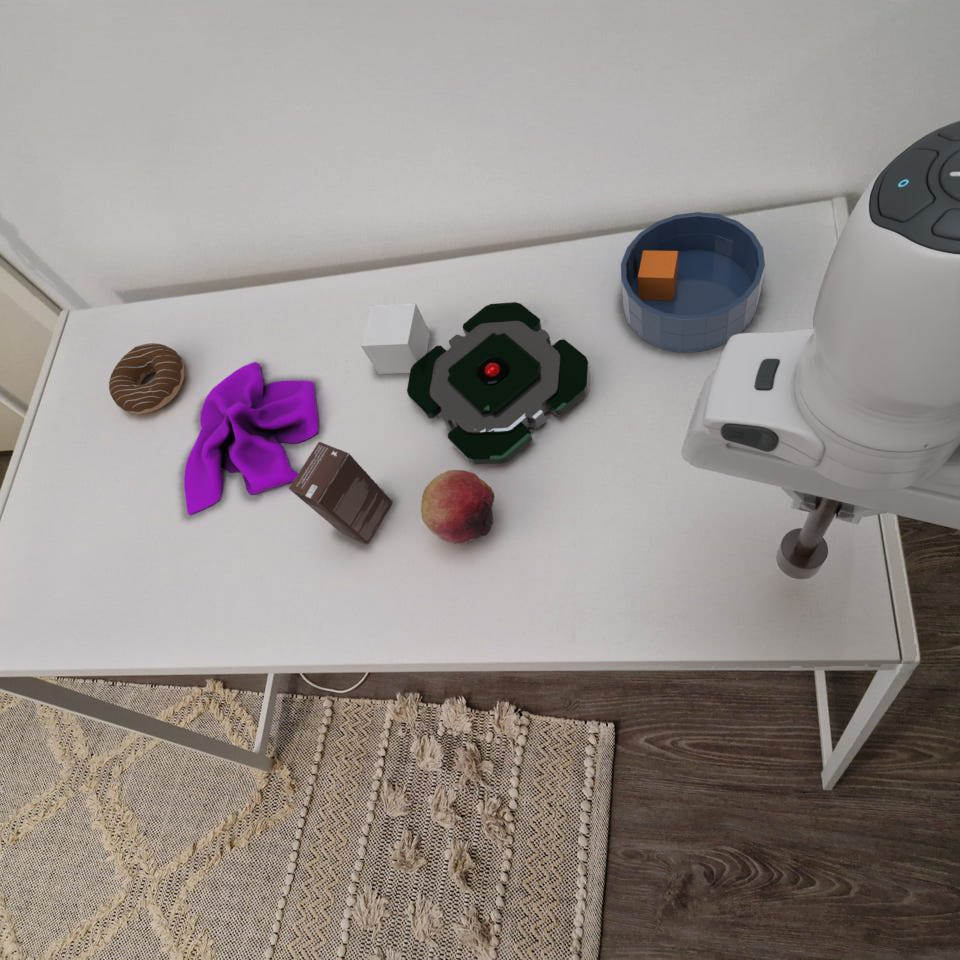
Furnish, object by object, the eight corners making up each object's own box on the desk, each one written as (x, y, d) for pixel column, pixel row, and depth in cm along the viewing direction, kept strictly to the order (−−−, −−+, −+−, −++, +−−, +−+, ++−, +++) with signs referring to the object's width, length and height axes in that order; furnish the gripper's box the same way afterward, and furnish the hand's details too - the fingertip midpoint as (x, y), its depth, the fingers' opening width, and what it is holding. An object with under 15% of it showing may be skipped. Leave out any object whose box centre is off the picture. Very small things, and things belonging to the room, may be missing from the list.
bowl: (771, 258, 83) (778, 220, 78) (740, 363, 78) (745, 330, 73) (644, 242, 88) (643, 206, 83) (607, 339, 83) (603, 307, 78)
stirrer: (824, 545, 61) (867, 471, 48) (817, 584, 60) (860, 519, 46) (780, 535, 62) (810, 460, 49) (772, 573, 61) (801, 507, 48)
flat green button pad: (489, 484, 79) (479, 466, 75) (399, 392, 87) (386, 371, 83) (607, 384, 81) (604, 360, 77) (508, 303, 89) (500, 279, 85)
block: (677, 274, 84) (678, 250, 81) (673, 301, 83) (673, 278, 79) (643, 273, 86) (642, 250, 82) (638, 299, 84) (637, 276, 81)
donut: (150, 347, 101) (132, 330, 98) (204, 363, 97) (187, 346, 94) (107, 408, 98) (87, 392, 94) (161, 427, 94) (142, 412, 90)
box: (363, 488, 82) (318, 438, 72) (394, 502, 81) (352, 453, 70) (335, 532, 81) (285, 488, 70) (366, 547, 79) (320, 504, 68)
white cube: (423, 372, 88) (407, 344, 82) (378, 374, 89) (360, 346, 84) (430, 333, 90) (415, 302, 85) (386, 335, 92) (369, 305, 87)
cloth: (227, 359, 97) (202, 332, 91) (344, 377, 90) (324, 349, 85) (152, 505, 89) (118, 484, 83) (274, 535, 82) (246, 515, 77)
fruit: (457, 479, 80) (437, 446, 73) (515, 505, 77) (500, 472, 70) (422, 537, 78) (397, 508, 71) (480, 566, 75) (461, 539, 68)
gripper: (1111, 397, 36) (998, 505, 48) (704, 329, 43) (695, 438, 55) (1102, 506, 34) (986, 591, 46) (676, 415, 41) (673, 509, 53)
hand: (825, 506), depth 51 cm, fingers closed on stirrer, 2 cm apart
